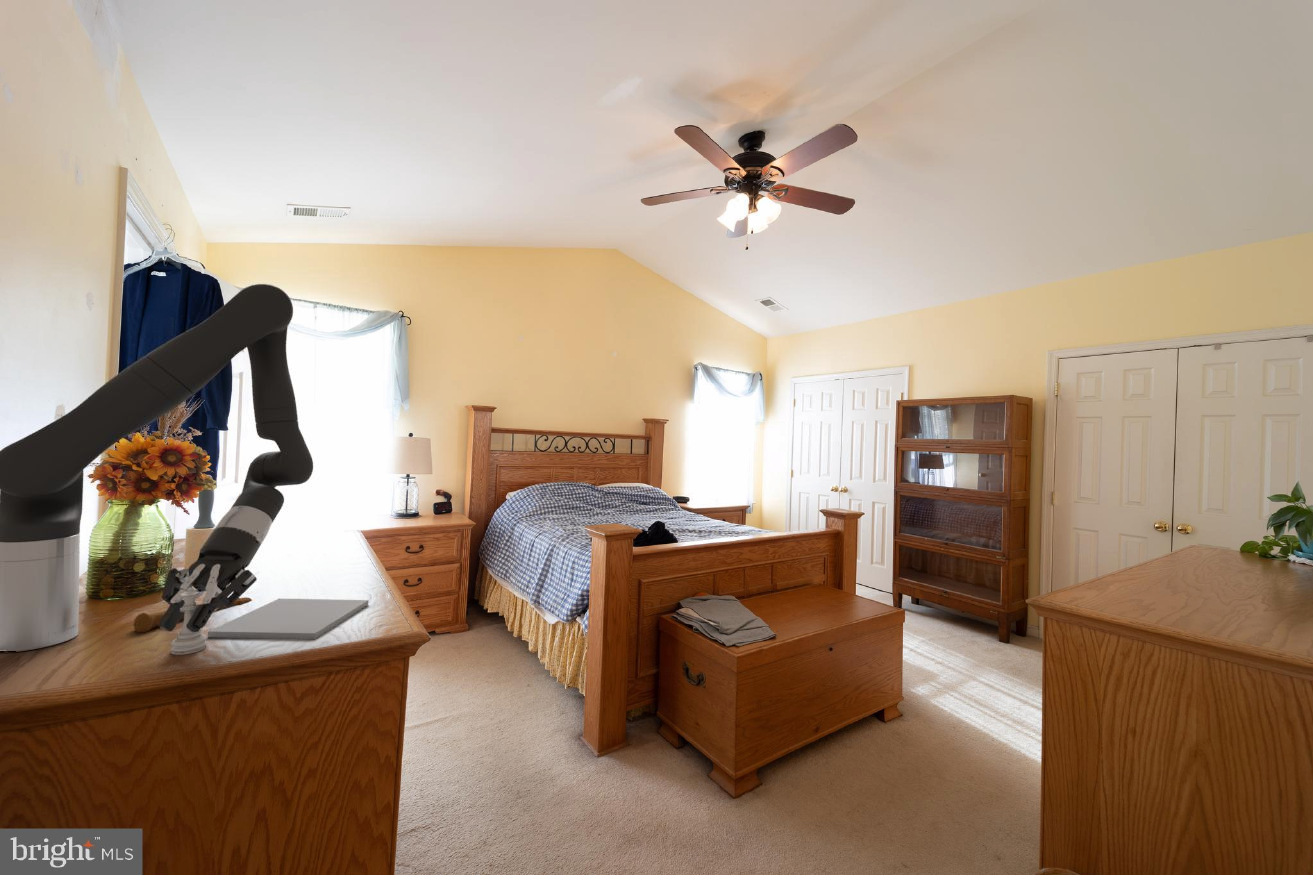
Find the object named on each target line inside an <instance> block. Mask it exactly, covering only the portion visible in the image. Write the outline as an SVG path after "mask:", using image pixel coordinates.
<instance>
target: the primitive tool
mask: <svg viewBox="0 0 1313 875" xmlns="http://www.w3.org/2000/svg"><path fill="white" fill-rule="evenodd" d="M252 601H253V599H252V598H250V597H246V596H245V597H239V598H238V599H237V600H236V601H235V602H234V603H233V604H232V605H231V606H229V607H224V606H223V607H219V608H218V609H217V610H215V611H214V612H216V611H220V610H223V609H227V608H231V607H236V606H239V605H243V604H246V603H249V602H252ZM196 604H197V605H203V602H202V603H196ZM166 611H167V610H164V611H159V612H154V613H147V612H142V613H138V615H136V616H135V618H134V620H133V630H135V632H138V633H147V632H149V631H151V629H155V628H157V627H160V624H159V622H160V620H161V618H162V617H163V615H164V614H165V612H166ZM195 611H196V610H195ZM184 614H185V612H184ZM184 614H183V615H182V617H181V619H180V620H179V622H180V621H184Z"/></svg>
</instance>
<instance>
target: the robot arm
mask: <svg viewBox="0 0 1313 875" xmlns="http://www.w3.org/2000/svg"><path fill="white" fill-rule="evenodd" d="M293 316H294V305H293V302H292V300H291V298H290V296H289V295H288V293H287V292H285V290H283V289H282V288H280V287H278V286H275V285H273V284H268V283H255V284H250V285H248V286H245V287H244V288H242V289H240V291H239V292H237V293H236V294H235V295H234V296H233V297H231V298H230V300H228V301H227V302H226V303H225V304H224V305H222V306H221V307H220V308H219V309H218V310H216V311H215V312H214V313H213V314H212V315H210V316H209V317H207V318H206V319H205V320H204V321H202V322H201V323H199V324H197V325H195V326H194V327H191V328H190V329H188V330H186V331H184V332H183V333H181V334H179V335H177V336H175V337H173V338H171V339H170V340H168V341H167V342H165V343H164V344H161V345H160V346H158V347H157V348H155V349H153V350H151V351H150V352H148V353H147V354H145V355H144V356H142V357H141V358H139V359H138V360H136V361H135V362H133V363H132V364H130V365H129V366H127V367H126V368H124V369H122V371H120V372H119V373H118V374H116V375H114V376H113V378H112V377H111V379H109V380H108V381H107V382H105V383H104V384H103V385H102V386H100V387H99V388H98V389H96V390H95V391H93V393H92V394H91V395H89V396H88V397H87V398H86V399H85V400H83V401H82V402H81V403H80V404H78V406H76V407H75V408H73V409H72V410H70V411H69V412H67V413H65V414H64V415H63V416H61V417H59V418H57V419H56V420H54V421H52V422H51V423H49V424H47V425H45V426H44V427H42V428H40V429H38V430H36V431H34V432H32V433H30V434H28V435H27V436H25V437H23V438H21V439H19V440H17V441H14V442H13V443H9V445H7V446H5V447H3V448H1V450H0V650H6V651H16V652H23V651H24V652H25V651H30V650H32V651H33V650H36V649H42V648H46V647H51V646H53V645H57V644H61V643H64V642H67V641H69V640H72V639H74V638H75V637H77V636H78V635H79V613H80V612H79V611H80V609H79V608H80V550H81V549H80V546H81V544H80V543H81V540H80V538H81V534H80V533H81V520H82V515H83V501H84V499H83V498H84V470H85V469H86V468H87V467H88V466H89V465H90V464H91V463H93V461H95V460H96V459H97V458H98V457H100V456H101V455H102V454H103V453H104V452H106V451H107V450H108V449H110V448H111V447H113V445H115V444H116V443H117V442H119V441H121V440H123V439H125V437H127V436H129V435H131V434H133V433H135V432H136V431H137V432H138V430H141V429H142V428H144V427H146V426H148V425H150V424H151V423H153V422H155V421H157V420H159V419H160V418H162V417H163V416H165V415H166V414H168V413H170V412H171V411H173V410H174V409H175V408H177V407H178V406H181V405H182V404H183V403H184V402H186V401H187V400H188V399H190V398H191V397H192V396H194V395H196V393H198V392H199V391H201V389H202V388H204V387H205V386H206V385H207V384H209V382H210V381H211V380H213V379H214V378H215V377H216V376H217V375H218V374H219V373H220V372H221V371H222V370H223V369H224V368H225V367H226V365H228V364H229V362H230V361H232V359H233V358H235V357H236V356H237V355H238V354H239V353H241V352H242V351H243V350H245V349H246V348H247V352H248V357H249V364H250V374H251V393H252V403H253V404H252V405H253V414H254V421H255V431H256V434H257V436H258V437H259V439H263V440H269V441H272V442H274V443H275V444H276V446H277V447H278V449H279V450H278V451H277V450H276V451H266V452H263V453H261V454H259V455H258V456H256V457H255V458H254V459H252V461H251V462H250V464H249V466H248V469H247V472H246V476H245V479H244V482H243V487H242V490H241V493H240V494H239V496H238V497H237V499H236V500H235V502H234V503H233V504H232V506H231V507H230V509H228V510H227V511H226V513H225V514H224V515H223V516H222V517H221V519H220V520H219V522H218V523H217V525H216V526H215V528H214V529H213V530H212V532H211V533H210V535H209V536H208V538H207V539H206V541H205V542H204V544H203V545H202V546H201V548H200V550H199V554H198V558H197V559H196V561H194V562H193V563H192V564H191V565H190V566H189V567H188V568H184V569H180V570H179V569H177V568H175V567H174V568H171V569H169V571H168V572H167V573H168V574H167V576H166V580H165V584H164V587H163V591H162V595H161V600H163V601H164V602H165V603H167V604H169V606H168V608H167V609H166V610H165V611H166V612H165V614H164V615H163V617H162V618H161V620H160V622H159V624H160V626H159V628H160V629H162V630H163V631H165V632H173V631H174V629H175V628H176V626H177V624H178V623H179V622H180V621H181V620H180V619H181V617H182V615H183V614H184V612H180V608H181V607H183V604H185V602H184V599H183V598H182V597H181V596H180V595H181V594H182V593H185V592H188V591H187V589H188V588H192V589H193V590H192V591H198V592H200V594H199V595H198V596H197V597H196V599H195V600H197V599H199V598H200V597H201V596H202V595H203V593H204V592H205V595H204V597H203V599H202V603H203V605H199V606H198V608H197V609H196V611H195V612H194V614H193V615H192V617H191V619H190V620H189V622H188V623H187V625H186V627H187V629H189V630H190V631H191V632H198V631H199V630H200V629H203V628H204V627H205V626H206V624H207V622H209V619H210V618H211V616H212V615H213V613H214V612H216V611H215V610H217V609H218V608H219V607H223V606H224V607H228V608H230V607H229V606H231V605H232V604H233V603H234V602H235V601H236V600H237V599H238V598H241V596H242V595H244V593H245V592H246V591H247V590H248V589H249V588H250V587H252V585H253V584H255V583H256V582H257V576H255V575H254V573H253V572H251V571H250V569H246V568H248V567H249V566H250V564H251V562H252V560H253V559H254V557H255V555H256V554H257V552H258V550H259V549H260V547H261V546H262V544H263V543H264V541H265V539H266V537H267V536H268V533H269V531H270V529H271V526H272V524H273V523H274V521H275V519H276V518H277V516H278V515H279V512H280V511H281V510H282V508H283V506H284V503H285V497H284V495H283V493H282V492H281V491H280V490H279V489H277V487H284V486H295V485H296V486H297V485H298V486H299V485H302V484H304V483H306V482H308V480H309V479H310V478H311V477H312V474H313V471H314V461H313V457H312V454H311V452H310V450H309V448H308V445H307V443H306V441H305V439H304V436H303V434H302V432H301V430H300V429H301V428H300V425H299V419H298V418H299V417H298V408H297V400H296V396H295V390H294V387H293V382H292V379H291V375H290V370H289V365H288V364H289V363H288V358H287V357H288V356H287V339H288V336H287V335H288V327H289V326H290V323H291V322H292V319H293ZM231 607H232V606H231ZM217 611H218V610H217ZM179 620H180V621H179Z"/></svg>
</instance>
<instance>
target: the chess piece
mask: <svg viewBox="0 0 1313 875" xmlns="http://www.w3.org/2000/svg"><path fill="white" fill-rule="evenodd" d="M192 588H193V587H192ZM192 588H188V589H187V591H188V592H185V593H182V594H181V595H180V596H181V597H182V598H183V599H182V600H184V602H185V604H183V607H181V608H180V612H185V614H184V620H183V624H182V626H181V630H180V631H178V632H177V637H176V638H174V639H173V640H172V642H170V645H171V648H170V653H171V654H172V655H175V656H177V655H178V656H181V655H189V654H194V653H196V652H200V651H202V650H204V649H205V648H207V646H208V643H207V635H205V634H203V633H202V632H201V631H202V630H201V629H202V628H201V629H200V630H199V631H198V632H191V631H190V630H189V629H187V627H186V625H187V623H188V622H189V620H190V619H191V617H192V615H193V614H194V612H195V610H196V609H197V608H198V606H199V605H197V604H198V603H197V602H196V600H197V599H196V597H197V596H198V595H199V594H200V592H198V591H192V590H193V589H194V588H193V589H192Z"/></svg>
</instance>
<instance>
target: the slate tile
mask: <svg viewBox="0 0 1313 875" xmlns="http://www.w3.org/2000/svg"><path fill="white" fill-rule="evenodd" d="M367 605H368V606H369V600H368V599H330V598H329V599H328V598H327V599H325V598H324V599H321V598H320V599H319V598H318V599H317V598H277V599H276V600H275V599H274V600H273V601H271V602H268V603H266V604H264V605H263V606H260V607H258V608H256V609H253V610H251V611H249V612H247V613H244V614H242V615H241V616H238V617H236V618H234V619H231V620H230V621H227V622H226V623H223V624H221V625H218V626H217V627H214V628H213V629H210V630H208V631H207V638H222V639H224V638H232V639H236V638H238V639H285V640H286V639H287V640H288V639H289V640H290V639H291V640H292V639H293V640H294V639H295V640H316V639H317V638H319V637H320V636H322V635H324V634H325V633H327V632H328V631H330V630H331V629H334V627H336V626H338V625H339V624H341V623H343V622H344V621H345V620H347V619H349V618H350V617H352V616H353V615H355V614H357V613H358V612H359V610H360V611H361V610H363V609H365V608H364V607H365V606H366V607H368V606H367ZM362 608H363V609H362ZM357 611H358V612H357ZM356 612H357V613H356ZM354 613H355V614H354Z"/></svg>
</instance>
